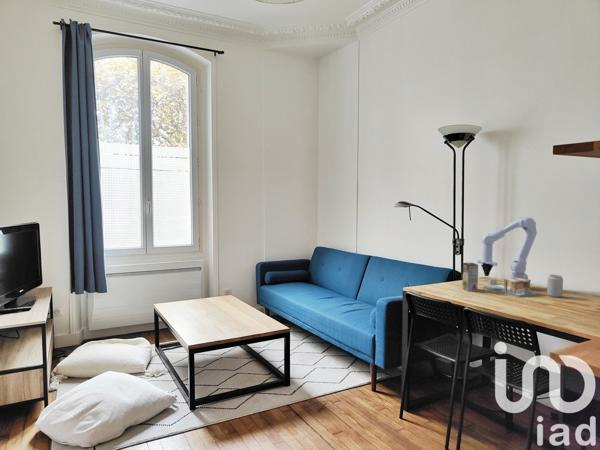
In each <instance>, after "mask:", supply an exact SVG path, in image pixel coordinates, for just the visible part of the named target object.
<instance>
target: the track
mask: <svg viewBox="0 0 600 450" xmlns="http://www.w3.org/2000/svg"><path fill="white" fill-rule="evenodd" d="M497 285H502V286H504V284H499V283H497ZM510 286H511V285H507V287H510ZM482 289H484V290H487V291H488V290H489V291H492V292H496V293H501V294H505V295H509V296H513V297H517V298H524V297H533V296H539V293H538V292H534V291H532V290H530V291H528V290H525V292H521V291H517V290H516V293H512V291H513V290H512V289H508V288H507V291H504V288H503V287H499V286H494V285H490V284H489V283H487V284H486V285H485V286H484V285H483V286H482Z"/></svg>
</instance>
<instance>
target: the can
mask: <svg viewBox="0 0 600 450" xmlns="http://www.w3.org/2000/svg"><path fill="white" fill-rule="evenodd" d="M562 276H563V275H561V274H560V275H559V274H548V276H547V283H546V284H547V288H546V292H547V293H546V294H547V296H548V297H552V298H561V297H563V295H564V294H563V291H564V287H563V286H564V278H563V277H562Z"/></svg>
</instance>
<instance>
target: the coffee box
mask: <svg viewBox="0 0 600 450" xmlns="http://www.w3.org/2000/svg"><path fill="white" fill-rule="evenodd" d="M478 283H479V264H478V263H474V262H462V287H461V288H462V289H463V290H465V291H467V292H478V287H479V285H478Z"/></svg>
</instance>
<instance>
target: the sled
mask: <svg viewBox="0 0 600 450" xmlns="http://www.w3.org/2000/svg"><path fill="white" fill-rule="evenodd" d="M488 284H490V285H494V286H499V287H503V288H504V286H502V285H503V284H501V285H497V284H498V280H497V279H496V278H494V279H492V278H491V279H488ZM507 288H508V289H511V287H507ZM518 291H521V292H525V289H518Z"/></svg>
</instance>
